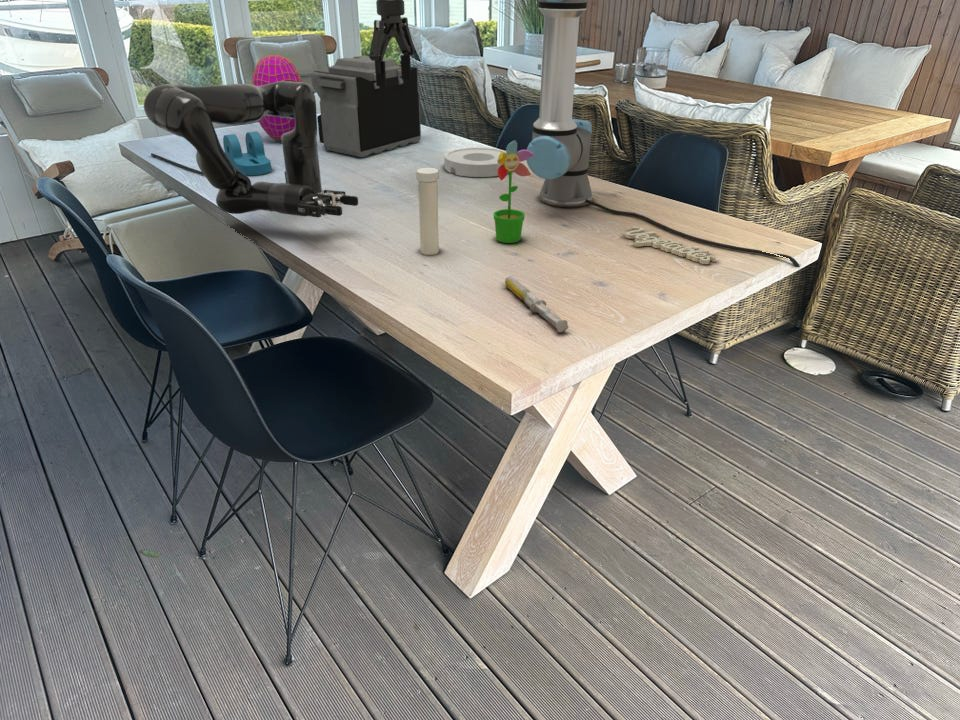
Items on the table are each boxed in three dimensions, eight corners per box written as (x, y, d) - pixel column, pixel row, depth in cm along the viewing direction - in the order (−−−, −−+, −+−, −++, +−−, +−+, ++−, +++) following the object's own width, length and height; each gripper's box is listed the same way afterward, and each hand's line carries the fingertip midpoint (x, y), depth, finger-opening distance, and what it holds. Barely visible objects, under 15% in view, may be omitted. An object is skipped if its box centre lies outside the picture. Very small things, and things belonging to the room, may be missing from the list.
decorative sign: (611, 234, 176) (635, 225, 181) (610, 237, 176) (634, 229, 182) (700, 264, 159) (723, 254, 164) (699, 268, 159) (723, 257, 165)
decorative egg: (293, 132, 276) (283, 50, 261) (319, 140, 264) (310, 56, 249) (249, 139, 265) (236, 54, 250) (273, 148, 253) (261, 60, 238)
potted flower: (500, 246, 170) (503, 143, 157) (485, 236, 176) (487, 136, 163) (533, 241, 173) (538, 139, 161) (517, 231, 179) (521, 133, 167)
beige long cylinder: (417, 250, 167) (414, 171, 158) (432, 247, 170) (430, 168, 160) (426, 256, 164) (424, 176, 155) (442, 252, 167) (440, 173, 157)
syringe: (500, 283, 150) (500, 272, 149) (516, 281, 152) (516, 270, 150) (551, 335, 131) (552, 322, 129) (568, 332, 132) (569, 319, 130)
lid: (412, 178, 158) (412, 169, 157) (431, 174, 161) (431, 166, 160) (424, 183, 155) (423, 174, 154) (443, 179, 157) (442, 171, 156)
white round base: (447, 158, 243) (446, 146, 241) (512, 159, 243) (512, 148, 241) (441, 176, 223) (441, 164, 221) (512, 177, 223) (513, 165, 221)
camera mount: (227, 164, 233) (221, 132, 227) (257, 160, 238) (252, 129, 233) (244, 176, 220) (239, 143, 215) (276, 172, 225) (271, 139, 220)
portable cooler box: (383, 133, 276) (378, 52, 261) (425, 141, 265) (422, 56, 250) (314, 150, 251) (304, 61, 235) (358, 160, 240) (350, 67, 224)
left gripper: (273, 192, 164) (334, 198, 159) (303, 177, 175) (361, 183, 171) (277, 222, 167) (337, 230, 163) (307, 206, 179) (363, 212, 175)
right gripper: (401, -4, 196) (405, 76, 206) (351, 0, 176) (358, 88, 187) (424, -3, 193) (427, 78, 204) (376, 1, 173) (382, 90, 184)
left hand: (349, 206), depth 167 cm, fingers open, 8 cm apart
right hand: (394, 83), depth 195 cm, fingers open, 13 cm apart
